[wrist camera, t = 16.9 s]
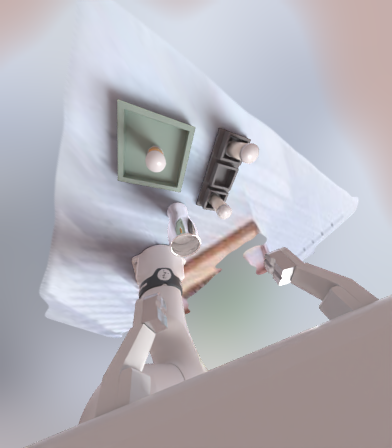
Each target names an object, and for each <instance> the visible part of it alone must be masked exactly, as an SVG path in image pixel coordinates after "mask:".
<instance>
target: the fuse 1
mask: <svg viewBox="0 0 392 448" xmlns="http://www.w3.org/2000/svg"><path fill="white" fill-rule="evenodd" d="M208 202H209V203H210V204H211V206H212V207H213V208H214V210H215V211H216V213H217V215H218V216H219V218H221V219H227V218H229V217H230V216H231V214H232V209H231V208H230V207H229V206H228V205H227V204H226V203H225V202H224V201H223V200H222V199H221V198H220V196H219V195H218V194H217V193H213V192H212V193H211V194H210V197H209V200H208Z"/></svg>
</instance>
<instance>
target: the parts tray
mask: <svg viewBox="0 0 392 448" xmlns="http://www.w3.org/2000/svg"><path fill="white" fill-rule="evenodd" d="M194 132H195V127H193V126H191V125H188V124H185V123H182V122H180V121H177V120H174V119H171V118H168V117H166V116H163V115H160V114H157V113H155V112H152V111H149V110H146V109H144V108H141V107H138V106H135V105H132V104H130V103H127V102H124V101H121V100H119V99H117V135H118V181H122V182H127V183H133V184H138V185H143V186H149V187H154V188H159V189H165V190H170V191H175V192H181V188H182V184H183V179H184V175H185V171H186V166H187V162H188V158H189V153H190V149H191V145H192V140H193V136H194ZM154 145H155V146H158V147H160V148H161V149H162V151H163V154H164V157H165V160H166V166H165V168H164V169H163V170H162V171H161V172H153V171H151V170H150V169H148V167H147V166H146V163H145V158H146V155H147V153H148V149H149V148H150V147H151V146H154Z"/></svg>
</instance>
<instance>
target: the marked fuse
mask: <svg viewBox="0 0 392 448" xmlns="http://www.w3.org/2000/svg"><path fill="white" fill-rule="evenodd" d="M145 163H146V166H147V167H148V169H150V170H151V171H153V172H161V171H162V170H163V169H164V168H165V166H166V160H165V157H164V154H163V151H162V149H161V148H160V147H158V146H155V145H154V146H151V147H150V148H149V149H148V153H147V155H146V158H145Z"/></svg>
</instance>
